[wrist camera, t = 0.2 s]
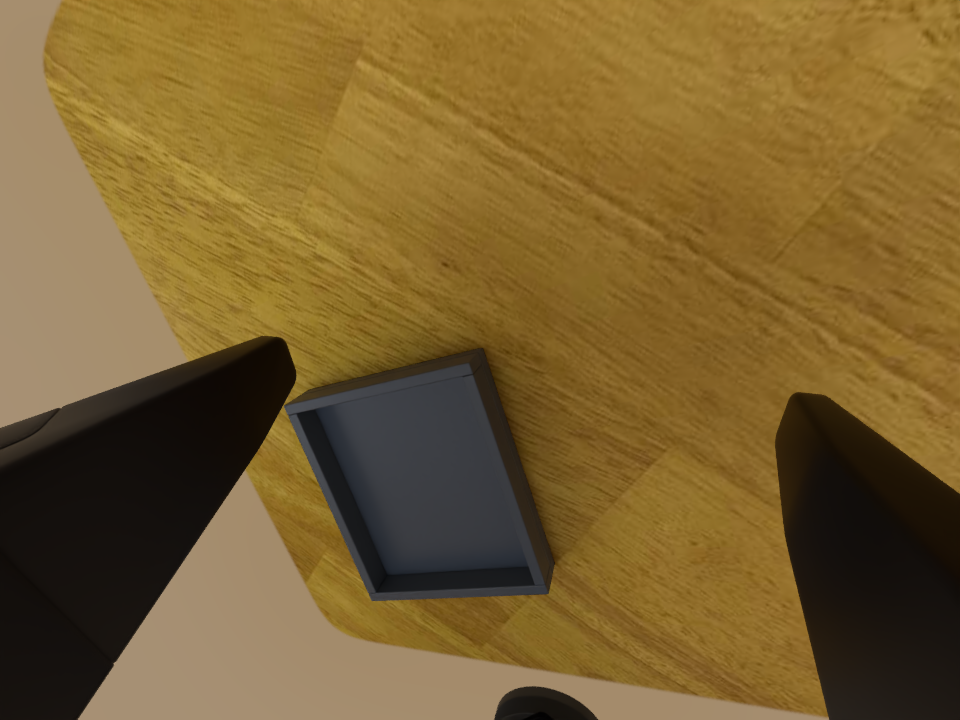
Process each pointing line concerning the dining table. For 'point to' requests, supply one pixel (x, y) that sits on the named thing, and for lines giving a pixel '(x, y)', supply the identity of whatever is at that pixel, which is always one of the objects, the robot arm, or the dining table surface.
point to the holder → (426, 481)
